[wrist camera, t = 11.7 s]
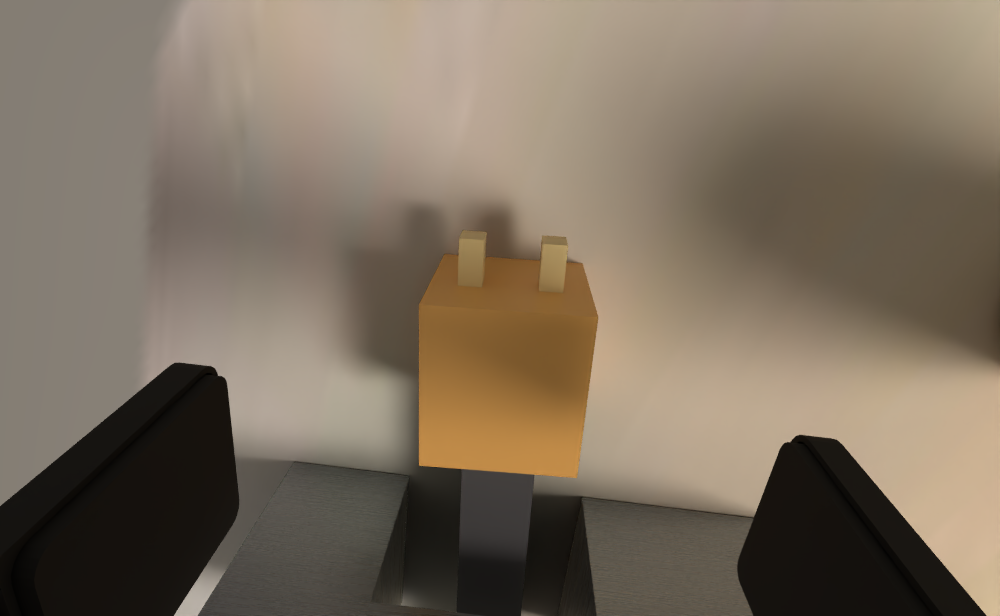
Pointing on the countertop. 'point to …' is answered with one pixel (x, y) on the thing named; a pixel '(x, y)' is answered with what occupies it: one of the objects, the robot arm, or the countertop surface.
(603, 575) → the housing
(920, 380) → the countertop surface
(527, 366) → the plug
